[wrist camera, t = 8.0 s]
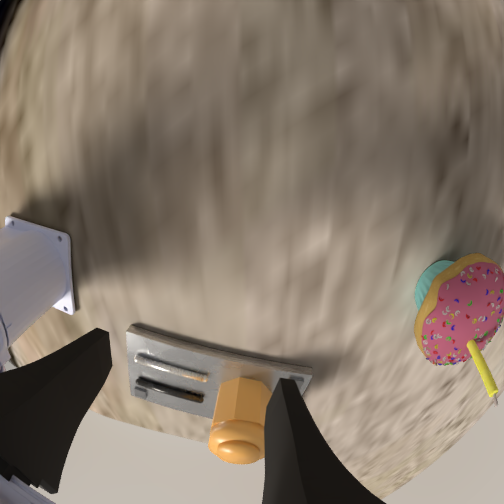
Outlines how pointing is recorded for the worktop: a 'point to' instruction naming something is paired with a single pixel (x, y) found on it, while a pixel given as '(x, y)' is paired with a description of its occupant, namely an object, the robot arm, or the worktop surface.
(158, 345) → the plate
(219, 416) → the acorn cap nut
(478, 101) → the worktop surface
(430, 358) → the cupcake
